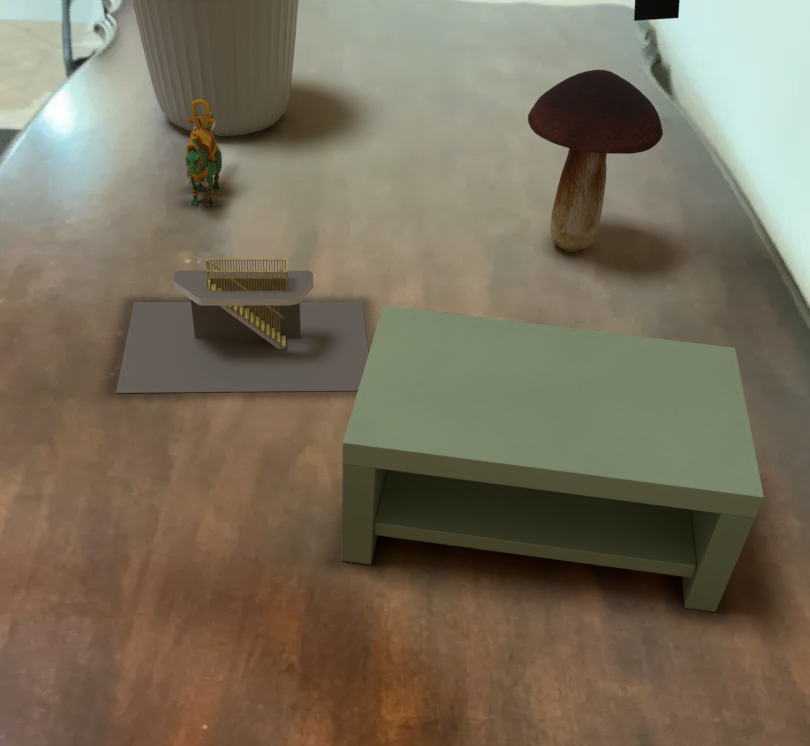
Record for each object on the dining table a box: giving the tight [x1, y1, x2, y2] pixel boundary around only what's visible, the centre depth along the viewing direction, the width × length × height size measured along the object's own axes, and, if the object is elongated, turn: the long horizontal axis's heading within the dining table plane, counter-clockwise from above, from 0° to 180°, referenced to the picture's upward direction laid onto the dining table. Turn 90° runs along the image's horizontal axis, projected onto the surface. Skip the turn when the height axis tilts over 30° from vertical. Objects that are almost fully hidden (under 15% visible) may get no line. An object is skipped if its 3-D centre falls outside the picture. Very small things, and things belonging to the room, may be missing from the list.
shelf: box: [340, 304, 765, 613], centre depth 59 cm, size 22×14×9 cm, turn 82°
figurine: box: [184, 99, 223, 207], centre depth 88 cm, size 3×12×8 cm, turn 179°
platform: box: [115, 258, 369, 394], centre depth 71 cm, size 12×18×7 cm, turn 95°
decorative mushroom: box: [527, 69, 664, 253], centre depth 81 cm, size 11×11×15 cm
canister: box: [131, 0, 299, 137], centre depth 96 cm, size 18×18×21 cm
